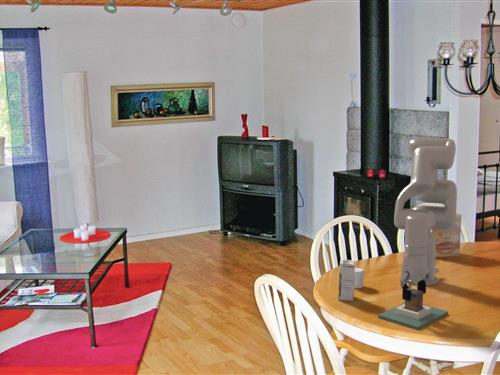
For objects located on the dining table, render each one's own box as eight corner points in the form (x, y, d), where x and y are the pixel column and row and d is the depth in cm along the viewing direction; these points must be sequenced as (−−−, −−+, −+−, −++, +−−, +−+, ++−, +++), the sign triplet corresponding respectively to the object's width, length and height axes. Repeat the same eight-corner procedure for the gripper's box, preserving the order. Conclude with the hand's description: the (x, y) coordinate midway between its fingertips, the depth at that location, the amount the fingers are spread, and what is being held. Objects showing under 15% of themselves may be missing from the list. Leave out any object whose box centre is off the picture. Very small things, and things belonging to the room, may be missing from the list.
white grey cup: (363, 289, 265) (364, 272, 264) (346, 288, 267) (346, 271, 266) (364, 283, 272) (364, 267, 271) (347, 283, 273) (347, 266, 272)
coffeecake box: (430, 258, 307) (432, 216, 303) (423, 254, 314) (424, 213, 310) (460, 255, 311) (462, 214, 307) (451, 251, 317) (453, 211, 314)
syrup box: (338, 295, 259) (339, 259, 256) (354, 296, 258) (355, 259, 255) (338, 300, 253) (338, 263, 251) (354, 301, 252) (354, 264, 250)
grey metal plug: (411, 309, 240) (412, 288, 239) (422, 313, 237) (423, 291, 236) (404, 313, 237) (405, 291, 236) (415, 316, 234) (416, 294, 233)
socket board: (409, 303, 250) (409, 295, 249) (448, 314, 239) (448, 306, 238) (378, 317, 236) (378, 309, 235) (417, 329, 225) (418, 321, 224)
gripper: (419, 242, 242) (417, 287, 245) (392, 253, 230) (391, 300, 233) (438, 246, 236) (436, 292, 240) (411, 257, 225) (410, 305, 228)
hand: (414, 296), depth 237 cm, fingers open, 9 cm apart
